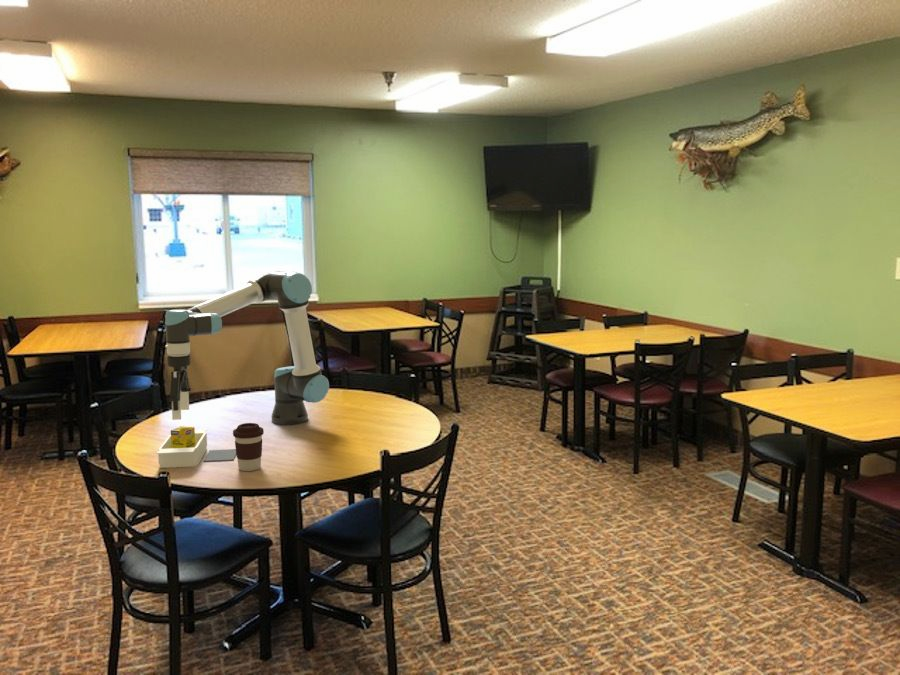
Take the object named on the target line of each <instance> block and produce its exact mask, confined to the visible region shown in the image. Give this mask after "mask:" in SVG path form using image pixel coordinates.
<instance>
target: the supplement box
mask: <svg viewBox="0 0 900 675" xmlns="http://www.w3.org/2000/svg"><path fill="white" fill-rule="evenodd" d="M195 430H196V429H195V426H186V425H185V426H184V425H183V426H182V425H180V426H178V427H176V428H173V429H171V430H170V434H171V448H193V447H195Z"/></svg>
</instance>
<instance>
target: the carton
mask: <svg viewBox="0 0 900 675" xmlns="http://www.w3.org/2000/svg"><path fill="white" fill-rule="evenodd" d="M207 431H208V430H207V428H206V429H195V447H193V448H171V433H170V434H169V435H168V436H167V438H166V439H165V440H164V441H163V442H162V443H161V445H160V446H159V448H158V449H157V452H156V455H158V464H159V469H164V468H165V469H166V468H167V469H168V468H186V467H187V468H188V467H189V468H190V467H198V466H199V464H200V462H201V460H202V459H203V457H204V455H205V453H206V451H207V448H208V436H207V435H208V434H207Z"/></svg>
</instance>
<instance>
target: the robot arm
mask: <svg viewBox="0 0 900 675" xmlns="http://www.w3.org/2000/svg"><path fill="white" fill-rule="evenodd" d="M312 293H313V286H312V282H311V281H310V279H309V278H308V277H307V276H306V275H305V274H303V273H301V272H297V271H280V270H275V271H274V270H273V271H270V272H267V273H265V274H262V275H260V276H257V277H255V278H253V279H250V280H249V281H247V284H245V285H242V286H241V287H237V288H235V289H233V290H230V291H228V292H226V293H224V294H223V293H222V294H221V295H218V296H216V297H214V298H211V299H209V300H206V301H203V302H202V303H199V304H197V305H195V306H192V307H189V308H187V309H170V310H167V311H166V312H165V322H164V325H165V338H166V344H165V346H164V348H165V349H166V353H167V356H166V362H167V363H166V365H167V366H168V367H169V368H173V371H171V372H170V379H171V380H170V393H169V394H170V395H169V398H168V401H169V402H171V415H172V416H171V417H172V418H171V420H174V421H177V420H182V411H189V410H190V399H189V398H190V394H189V392H191V391H192V388H191V386H190V382H189V375H188V366H190V365H191V355H190V353H191V344H190V343H191V342H190V339H191V337H195V336H196V337H197V336H207V335H215V334H219V333H220V332H221V330H222V328H223V320H222V317H224V316H226V315H228V314H231V313H233V312H235V311H237V310H240V309H242V308H245V307H247V306H249V305H252V304H253V303H254V304H255V303H257V304H260V303H263V302H265V301H277V303H278V308H279V310H281V311H282V312H283V314H284V318H285V323H286V329H287V335H288V338H289V339H288V340H289V345H290V349H291V355H292V361H293V365H292V366H291V365H290V366H283V367H278V368H276V369H275V370H274V374H273V377H274V378H273V379H274V380H273V381H274V400H275V402H274V407H273V410H272V413H271V422H272V423H274V424H276V425H286V426H287V425H289V426H290V425H298V424H301V422H302V423H305V422H307V421H308V420H309V414H308V411H307V408H306V406H305V402H306V403H312V404H315V403H320V402H321V401H322V400H324V399H325V398H326V396H327V394H328V393H329V391H330V390H329V389H330V383H329V382H330V381H329V380H328V377H326V376H325V375H322V369H321V366H320V365H318V364H317V363H316V362H317V361H316V357H315V351H314V345H313V340H312V336H311V335H312V333H311V330H310V324H309V318H308V312H307V307H308V306H309V300H310V299H311V295H312ZM307 419H308V420H307ZM306 420H307V421H306ZM304 421H305V422H304ZM297 423H298V424H297Z"/></svg>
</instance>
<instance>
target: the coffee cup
mask: <svg viewBox="0 0 900 675" xmlns="http://www.w3.org/2000/svg"><path fill="white" fill-rule="evenodd" d="M264 431H265V430H264V428H263V427H261V426H260V425H259V423H255V422H254V423H253V422H246V423H241V424H239V425H238V426H237V427H236V428H234V429H233V431H232V435H233V437H234V444H235V449H236V456H235V457H236V459H237V468H238V469H239V470H240V471H242V472H253V471H257V470H259V469H260V468H261V467H262V466H261V465H262V455H263V454H262V453H263V437H262V436H263V435H264Z"/></svg>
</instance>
